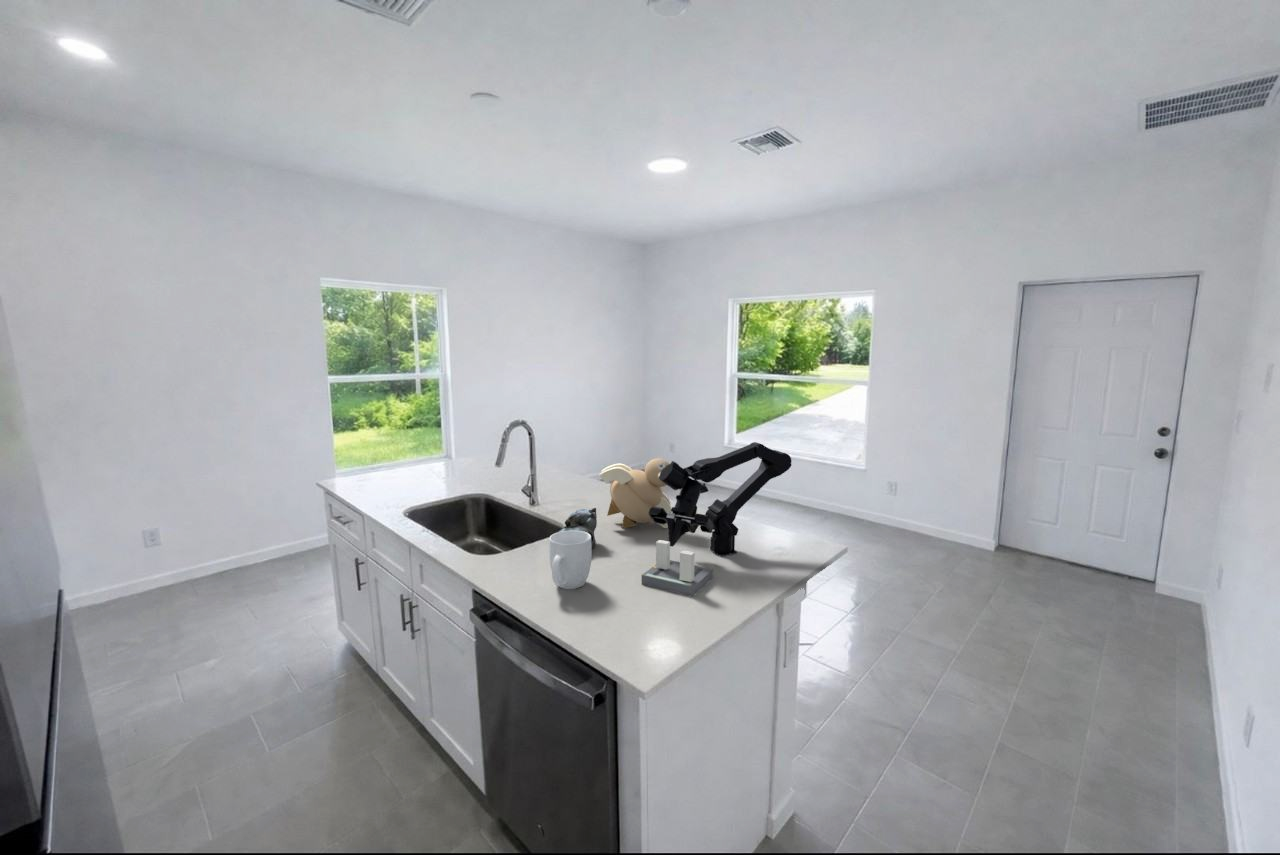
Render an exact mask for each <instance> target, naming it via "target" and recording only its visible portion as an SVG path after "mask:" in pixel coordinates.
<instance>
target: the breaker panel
mask: <svg viewBox="0 0 1280 855" xmlns="http://www.w3.org/2000/svg"><path fill="white" fill-rule="evenodd" d="M712 579H714V568H709V567H704V566H700V565H695V564H694V580H693V581H692V582H688V581H683V580H680V561H676V560H672V559H670V568H668V569H667V570H665V569H661V568H656V564H655V565H654V566H652V567H651V568H649V569H648V570H646V571H645V572H644V573H642V574H641V585H645V586H649V587H651V588H652V587H653V588H656V589H661V590H664V591H668V592H673V593H678V594H682V595H685V594H686V595H685V596H689V595H690V597H693V596H694V595H695V594H696V595H697V594H698V593H699V592H700V591H701V590H702V589H703V588H704V587H705V586H706V585H708V583H710V582H711V581H712ZM696 595H695V596H696ZM695 596H694V597H695Z"/></svg>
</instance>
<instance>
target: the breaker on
mask: <svg viewBox="0 0 1280 855" xmlns="http://www.w3.org/2000/svg"><path fill="white" fill-rule="evenodd" d="M695 554H696V553H695V552H694V551H689V550H682V551H680V552H679V562H680V580H683V581H688V582H692V581H693V580H694V565H695Z"/></svg>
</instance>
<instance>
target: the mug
mask: <svg viewBox="0 0 1280 855" xmlns="http://www.w3.org/2000/svg"><path fill="white" fill-rule="evenodd" d="M548 543H549V544H548V548H549V550H548V552H549V563H550V564H549V565H550V570H551V578H552V581H553V583H554V585H556V586H557V587H559V588H561V589H563V588H564V589H563V590H576V588H577V589H580V588H581V586H582V587H583V586H584V585H585V583H586V581H587V580H588V578H589V574H590V571H591V565H592V556H593V555H592V554H593V552H592V551H593V550H592V545H591V535H590V534H589V533H587V532H584V531H576V530H569V531H561V532H559V531H557V532H555V533H553V534H551V535H550V536H549V542H548ZM579 587H580V588H579Z"/></svg>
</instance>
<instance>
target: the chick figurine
mask: <svg viewBox="0 0 1280 855" xmlns="http://www.w3.org/2000/svg"><path fill="white" fill-rule="evenodd" d="M669 464H671V462H668V460H666V459H664V458H659V457H658V458H653V459H651V460H649V461H648V462H647V464H646V465H645V469H644V471H643V470H641V469H632V468H631V467H630V466H628V465H626V464H624V463H620V462H619V463H614V464H611V465H608V466H606V467H605V468H603V469H601V472H600V473H599V474H598V476H599V478H601V480H602V481H604V483H605V484H608V483H610V482H611V483H610V486H609V495H610V497H611V500H610V502H609V503H610V504H609V507H608V510H607V511H608V512H607V517H608V516H612V515H615V514H620V513H621V514H622V515H623V518H622V524H621V529H625V528H629V527H634V526H637V522H638V523H641V524H642V523H648V522H651V521H653V520H652V519H651V517H650V516H649V514H648V512H649V510H650V508H651V507H653V506H654V507H660V508H663V509H664V510H665V512H666V513H672V511H671V509H672V507H671V501H670V499H669V497H668V495H666V493H664V492H663V490H662V487H665V486H667V485H666V484H665V483H664V482H662V481H661V480H660V479H659V476H660V473H661V471H662V470H663V468H665V467H666V466H667V465H669ZM658 525H659V526H661V527H662V529H663V528H664V529H665V528H667V529H668V524H667V523H666V524H664V525H663V524H658Z"/></svg>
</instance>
